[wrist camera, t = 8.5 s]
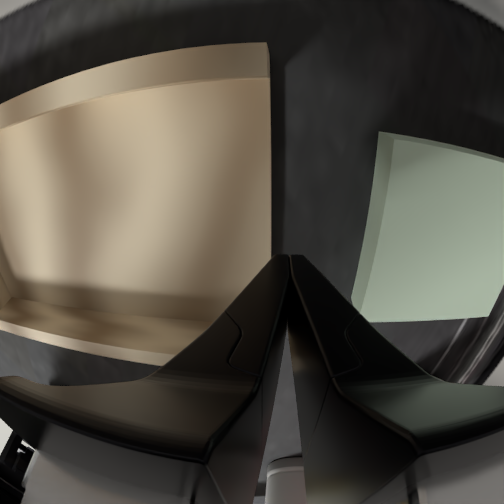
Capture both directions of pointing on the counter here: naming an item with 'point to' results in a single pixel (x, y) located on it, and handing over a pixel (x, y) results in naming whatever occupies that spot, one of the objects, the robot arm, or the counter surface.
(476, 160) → the cover plate
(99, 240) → the birch tray
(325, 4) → the counter surface
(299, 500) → the travel mug
